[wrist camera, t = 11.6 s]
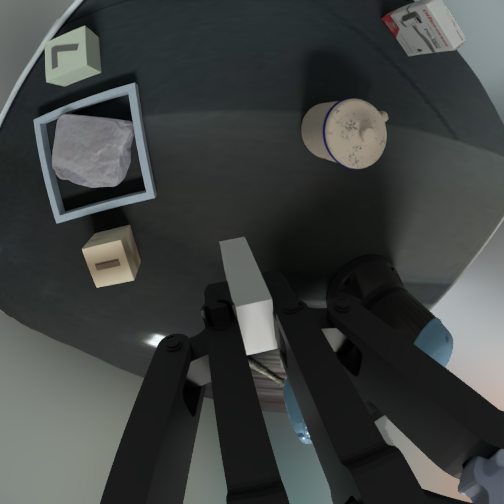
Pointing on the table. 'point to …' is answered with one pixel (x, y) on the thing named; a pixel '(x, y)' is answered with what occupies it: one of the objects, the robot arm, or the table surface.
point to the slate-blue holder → (141, 146)
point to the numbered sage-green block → (72, 57)
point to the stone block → (92, 150)
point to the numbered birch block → (112, 256)
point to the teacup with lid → (345, 132)
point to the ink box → (424, 27)
